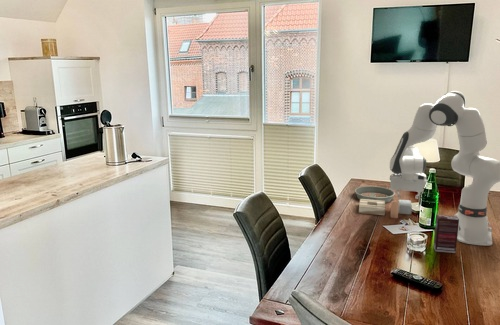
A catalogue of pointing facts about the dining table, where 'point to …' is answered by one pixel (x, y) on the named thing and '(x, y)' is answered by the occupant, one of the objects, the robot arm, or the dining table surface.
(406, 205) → the grey rectangular block
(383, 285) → the dining table surface
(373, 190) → the cake pan
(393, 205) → the peg
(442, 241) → the supplement box
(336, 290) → the dining table surface
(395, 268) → the dining table surface
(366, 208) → the socket board
